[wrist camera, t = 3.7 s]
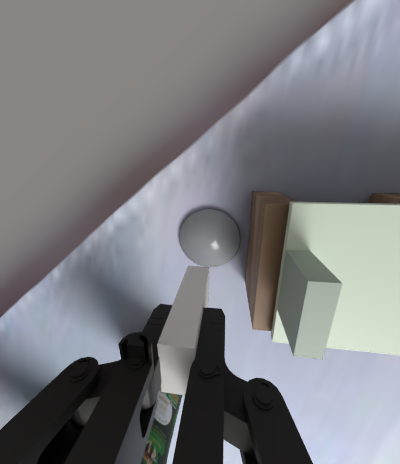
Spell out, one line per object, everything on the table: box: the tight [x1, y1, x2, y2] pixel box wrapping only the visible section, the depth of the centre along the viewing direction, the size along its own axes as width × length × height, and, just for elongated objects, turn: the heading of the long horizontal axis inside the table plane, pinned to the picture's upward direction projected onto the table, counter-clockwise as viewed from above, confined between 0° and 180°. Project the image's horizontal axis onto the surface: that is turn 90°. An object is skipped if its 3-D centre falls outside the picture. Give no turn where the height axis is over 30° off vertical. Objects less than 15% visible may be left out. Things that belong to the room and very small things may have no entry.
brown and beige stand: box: [245, 192, 400, 331], centre depth 18 cm, size 19×11×8 cm, turn 90°
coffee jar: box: [141, 385, 182, 464], centre depth 21 cm, size 10×8×19 cm
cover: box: [271, 202, 400, 359], centre depth 12 cm, size 11×12×5 cm
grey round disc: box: [179, 209, 240, 267], centre depth 23 cm, size 7×7×1 cm
